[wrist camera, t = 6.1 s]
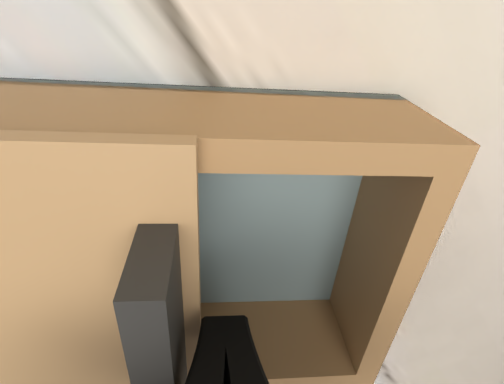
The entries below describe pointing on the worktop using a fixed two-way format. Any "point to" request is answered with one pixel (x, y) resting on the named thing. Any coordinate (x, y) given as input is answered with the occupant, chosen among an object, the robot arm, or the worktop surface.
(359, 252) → the box
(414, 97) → the worktop surface
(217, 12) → the worktop surface
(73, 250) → the lid
